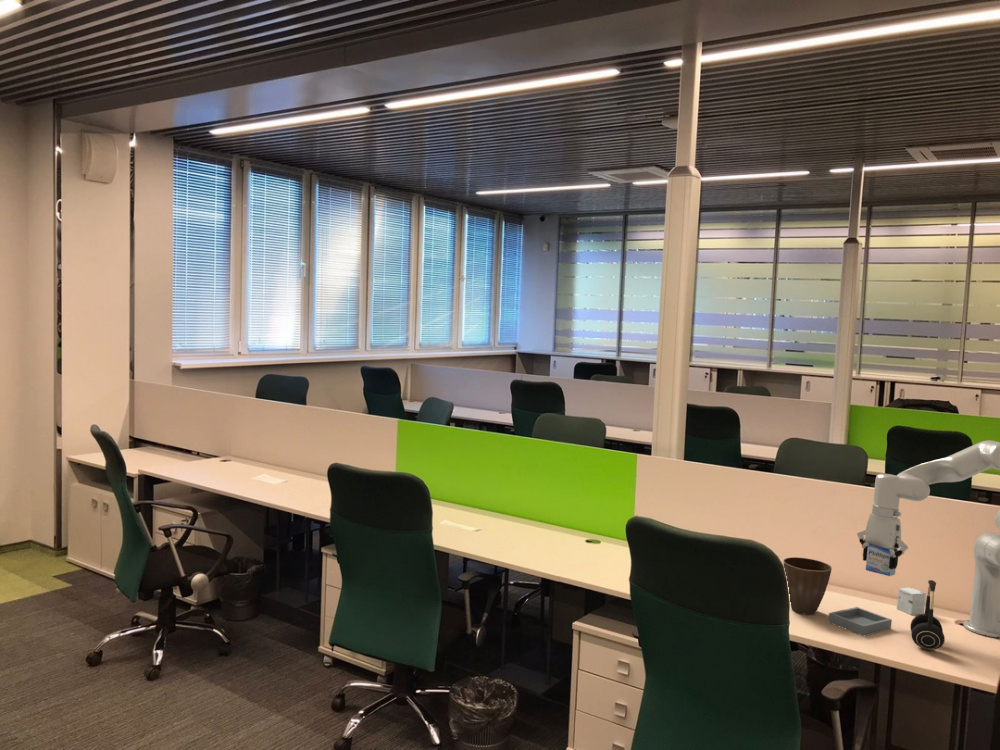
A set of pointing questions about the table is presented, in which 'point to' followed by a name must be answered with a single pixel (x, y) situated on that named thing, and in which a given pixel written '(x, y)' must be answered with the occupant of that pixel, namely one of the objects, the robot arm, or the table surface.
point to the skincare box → (911, 601)
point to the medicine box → (879, 560)
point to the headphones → (927, 625)
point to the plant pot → (806, 583)
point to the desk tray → (860, 621)
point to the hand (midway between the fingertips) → (879, 564)
